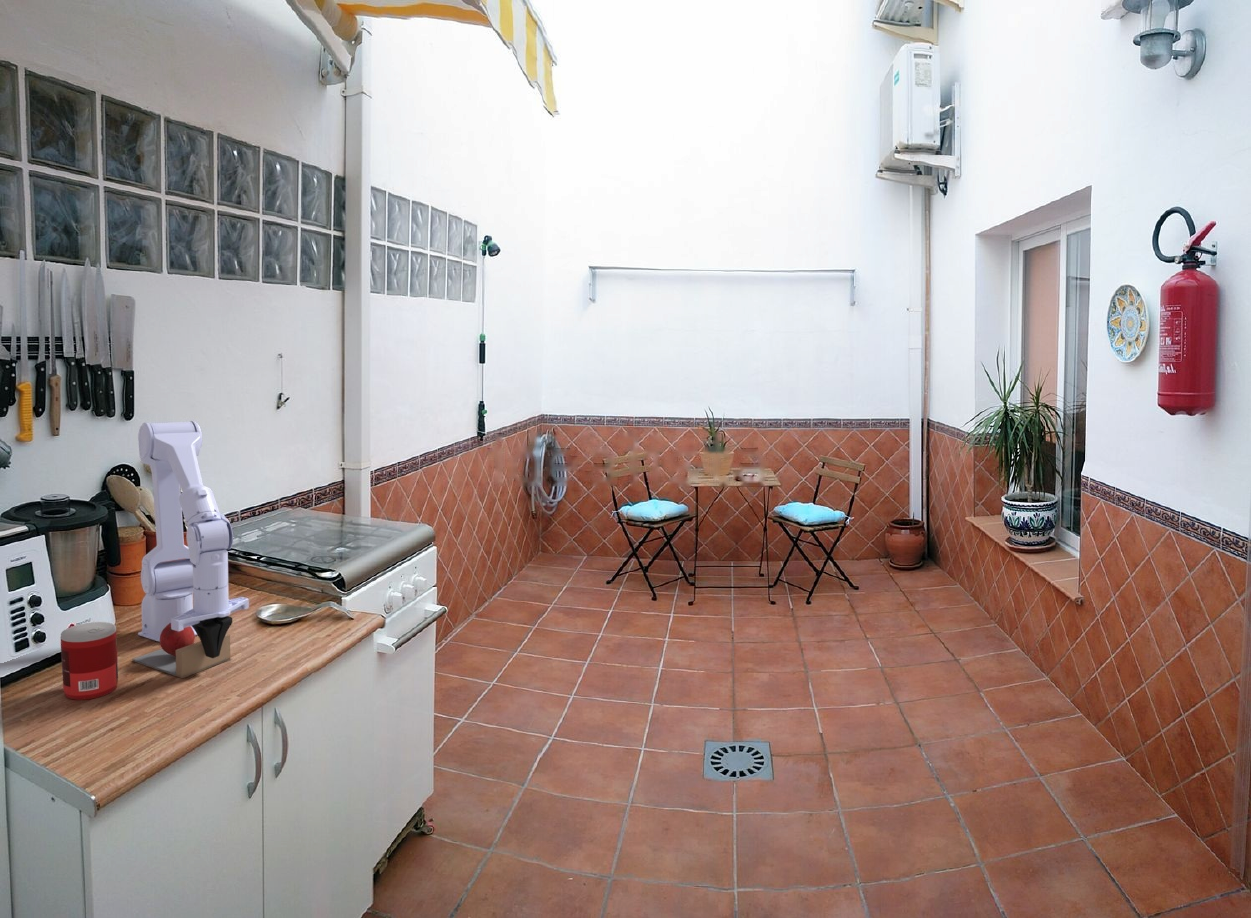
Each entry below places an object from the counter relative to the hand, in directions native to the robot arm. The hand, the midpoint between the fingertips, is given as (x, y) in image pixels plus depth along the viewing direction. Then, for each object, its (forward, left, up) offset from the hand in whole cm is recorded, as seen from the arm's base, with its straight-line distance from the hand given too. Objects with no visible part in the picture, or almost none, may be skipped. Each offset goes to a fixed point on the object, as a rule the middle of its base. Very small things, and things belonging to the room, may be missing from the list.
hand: (212, 655), depth 149 cm
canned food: (-10, -16, -3) cm, 19 cm away
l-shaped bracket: (-9, 0, -3) cm, 9 cm away
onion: (-10, 0, -3) cm, 10 cm away
